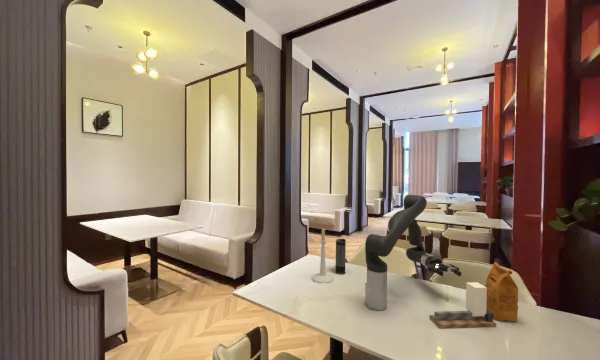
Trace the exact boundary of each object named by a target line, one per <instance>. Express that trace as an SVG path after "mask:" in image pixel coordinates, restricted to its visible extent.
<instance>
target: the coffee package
mask: <svg viewBox="0 0 600 360" xmlns="http://www.w3.org/2000/svg"><path fill="white" fill-rule="evenodd" d="M491 266H492V267H491V268H490V271H489V272H488V274H487V277H486V281H485V287H487V300H486V309H487V310H489V311H490V312H492V313H493V319H494V320H496V321H510V322H517V321H518V311H519V305H518V304H519V287H518V285H517V284H516V282H515V281H514V279H513V278H512V276H511V275H513V271H512V270H510V269H506V268H504V267H500V264H499V263H498V262H496V261H495V262H494V263H493V265H491Z"/></svg>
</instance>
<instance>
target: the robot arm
mask: <svg viewBox="0 0 600 360" xmlns="http://www.w3.org/2000/svg"><path fill="white" fill-rule="evenodd" d="M404 196H405V197H404V198H403V209H401V210H399V211H397V212H395V213H394V214H393V215H392V216H391V217H390V218H389V220H388V222H387V223H388V224H387V225H388V226H387V227H388V233H387V234H386V235H379V234H374V233H370V234H368V235H367V236H366V239H365V242H364V244H365V246H364V247H365V248H364V249H365V252H364V253H365V264H366V282H365V284H364V285H365V286H364V303H365V304H366V306H367V308H368V309H370V310H375V311H384V310H386V309H387V307H388V263H386V262H385V261H384V260H383V259H381V258H380V257H382V258H385V257H388V256H389V255H390V254H391V252H392V251H393V249H394V248H395V246H396V245H397V243H398V240H400V238H401V237H402V235H403V234H405V232H406V231H408V233H407V234H408V243H409V244H410V245H411V246H414V247H409V248H407V249H406V251H405V256H406V257H407V259H408V260H410V261H412V262H415V263H419V264H421V265H422V266H423V267H425V270H426V271H427V272H429V273H430V274H433V273H434V274H437V275H438V276H440V277H444V273H448V274H454V275H456V276H458V277H462V272H461V271H460V267H458V266H456V265H454V264H452V263H451V264H450V263H449V265H448V264H445V263H444V262H443V260H442V259H441V258H439V257H437V256H435V255H434V254H430V253H428V252H427V251H426V250H425V247H424V245H423V239H422V238H423V235H422V234H423V233H422V230H421V227H420V225H419V223H418V222H417V221H416V218H418V217H419V216H420V215H421V214H422V213H423V212H424V211H425V210H426V206H427V204H428V203H427V202H428V200H427V199H426V197H425V196H423V195H417V194H416V195H415V194H406V195H404Z"/></svg>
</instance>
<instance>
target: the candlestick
mask: <svg viewBox="0 0 600 360" xmlns="http://www.w3.org/2000/svg"><path fill="white" fill-rule="evenodd" d="M319 241H320V244H321V249H320V250H321V251H320V264H319V272H318V273H315V274H313V275H312V277H311V279H312V280H311V281H313V282H314V283H316V282H317V284H321V283H327V284H330V282H331V283H333V282H334V281H333V280H335V279H334V276H333V275H331V274H330V273H327V270H326V269H327V267H326V247H325V244H326V241H327V240H326V229H325V228H322V229H321V239H320V240H319ZM332 281H333V282H332Z"/></svg>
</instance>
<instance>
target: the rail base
mask: <svg viewBox="0 0 600 360" xmlns="http://www.w3.org/2000/svg"><path fill="white" fill-rule="evenodd" d="M429 320H430V321H431V322H433V324H434V325H435V326H436V327H438V328H439V329H467V328H468V329H469V328H497V323H496V322H495V321H494V318H493V313H492V312H490V311H489V310H487V309H486V314H485V316H472V312H471V311H467V310H453V311H452V310H450V311H449V310H448V311H447V310H446V311H443V310H442V311H439V310H437V311H434V314H429Z"/></svg>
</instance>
